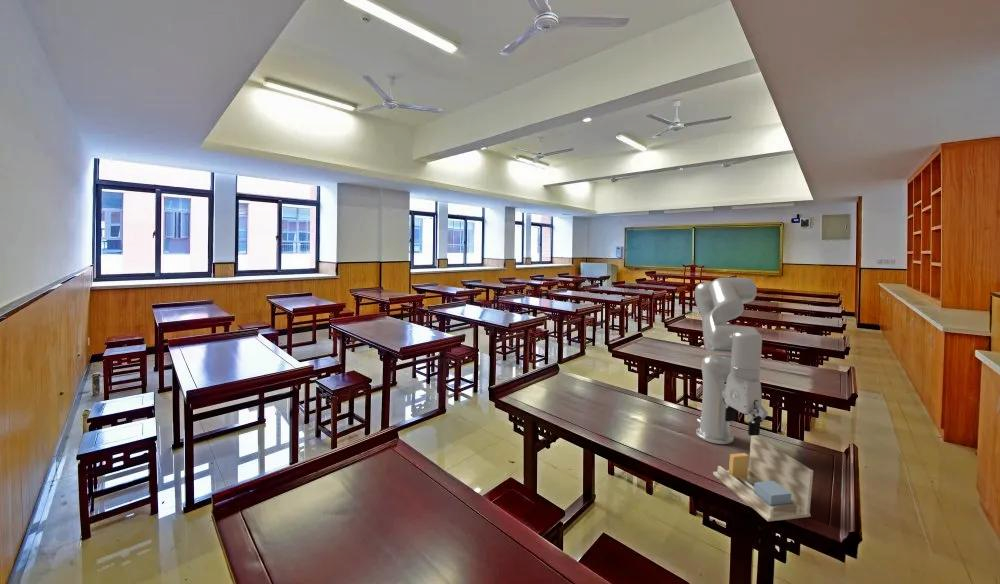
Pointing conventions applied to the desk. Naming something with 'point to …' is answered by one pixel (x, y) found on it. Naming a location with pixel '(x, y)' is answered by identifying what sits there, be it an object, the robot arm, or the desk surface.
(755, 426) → the robot arm
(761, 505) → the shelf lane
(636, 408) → the desk surface
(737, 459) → the toy blocks
